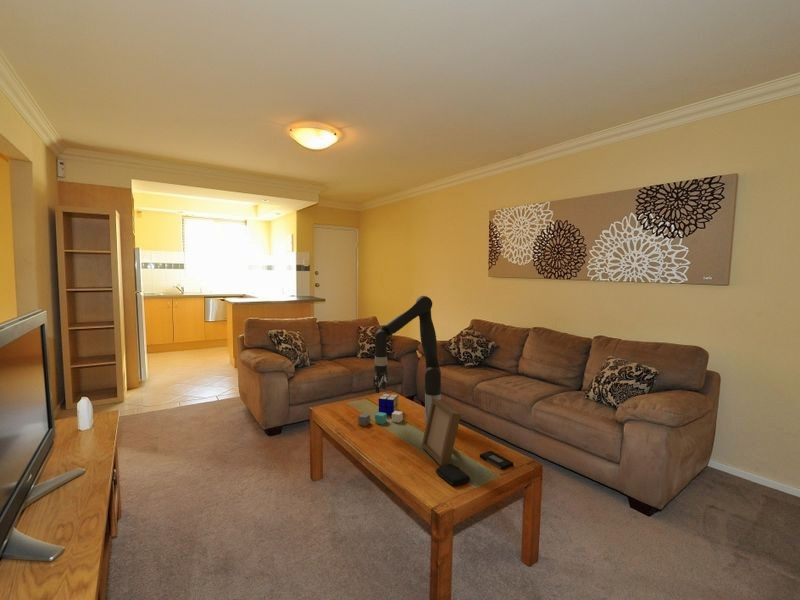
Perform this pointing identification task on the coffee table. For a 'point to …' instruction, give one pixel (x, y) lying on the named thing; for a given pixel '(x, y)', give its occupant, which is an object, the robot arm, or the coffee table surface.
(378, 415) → the teal block
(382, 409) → the puzzle cube
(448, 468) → the carrying case or bag
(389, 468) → the coffee table surface
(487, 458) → the vhs tape
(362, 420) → the charcoal block
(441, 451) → the photo frame
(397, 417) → the off-white block
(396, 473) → the coffee table surface
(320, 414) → the coffee table surface
